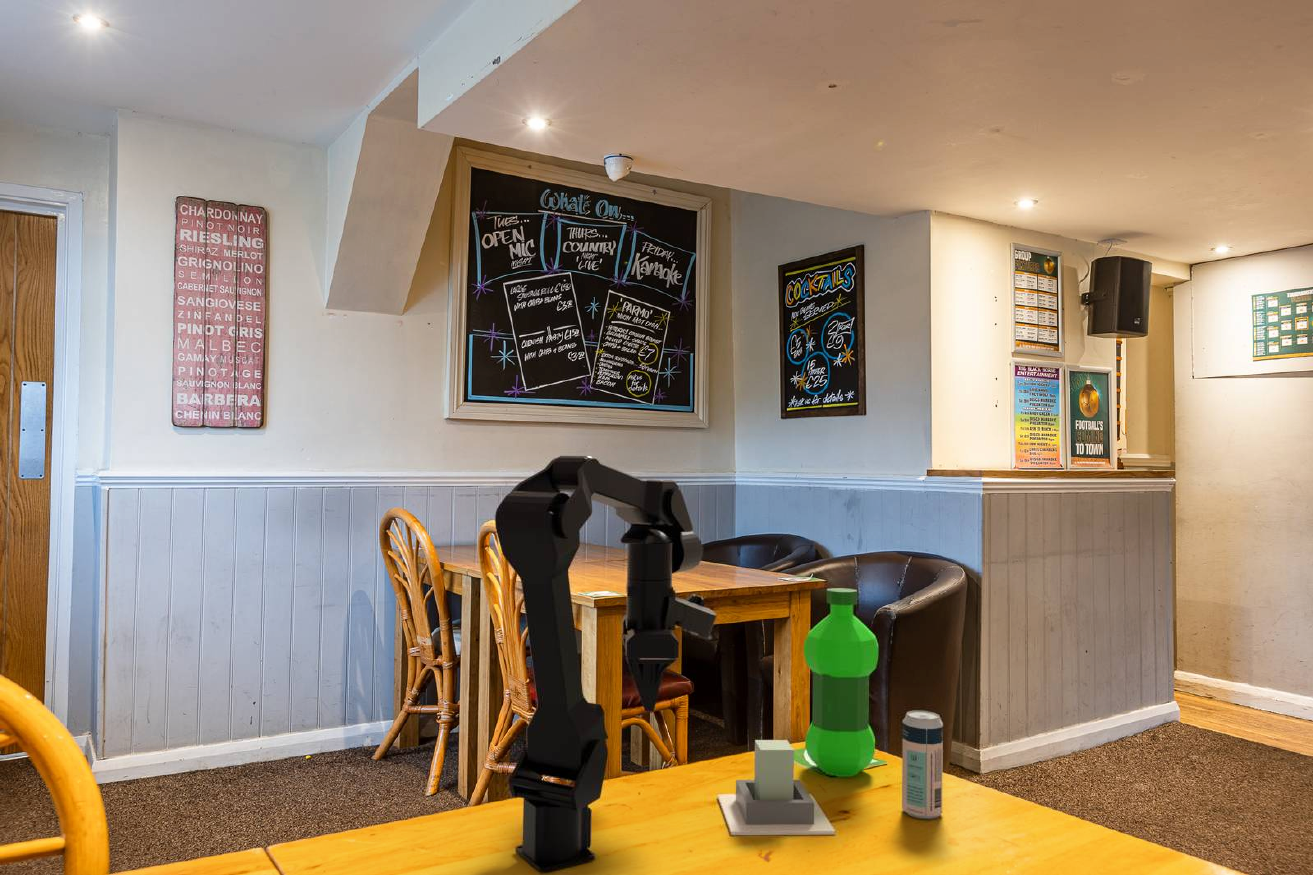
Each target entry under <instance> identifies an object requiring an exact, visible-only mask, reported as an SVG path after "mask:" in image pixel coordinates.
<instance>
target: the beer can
mask: <svg viewBox="0 0 1313 875" xmlns="http://www.w3.org/2000/svg"><path fill="white" fill-rule="evenodd" d="M943 728H944V723H943V721H942V718H941V717H940V714H937V713H935V712H934V711H933V712H932V711H928V710H910V711H909V710H908V711H907V712H906V714H905V717H904V719H902V751H901V752H902V753H901V754H902V757H901V758H902V759H901V760H902V764H901V765H902V766H901V767H902V772H901V774H902V775H901V777H902V779H901V782H902V783H901V790H902V791H901V809H902V810H903V811H904V812H905V813H906V814H907V815H909V816H910V817H913V818H914V819H919V820H933V819H936V818H938V817H939V816H941V815H942V814H943V767H944V766H943V765H944V764H943V758H944V757H943V756H944V755H943V754H944V753H943V752H944V749H943V748H944V747H943V745H944V744H943V743H944V742H943V741H944V734H943V733H944V729H943Z"/></svg>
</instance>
